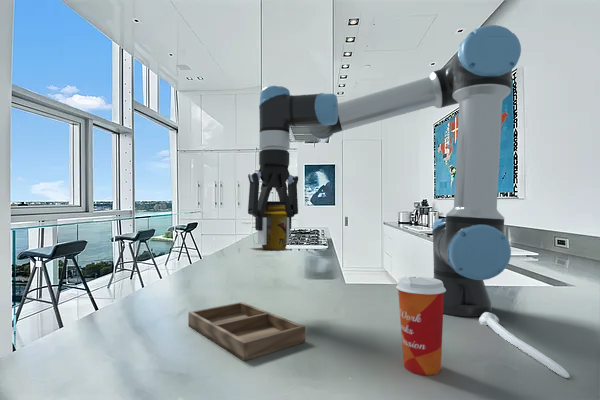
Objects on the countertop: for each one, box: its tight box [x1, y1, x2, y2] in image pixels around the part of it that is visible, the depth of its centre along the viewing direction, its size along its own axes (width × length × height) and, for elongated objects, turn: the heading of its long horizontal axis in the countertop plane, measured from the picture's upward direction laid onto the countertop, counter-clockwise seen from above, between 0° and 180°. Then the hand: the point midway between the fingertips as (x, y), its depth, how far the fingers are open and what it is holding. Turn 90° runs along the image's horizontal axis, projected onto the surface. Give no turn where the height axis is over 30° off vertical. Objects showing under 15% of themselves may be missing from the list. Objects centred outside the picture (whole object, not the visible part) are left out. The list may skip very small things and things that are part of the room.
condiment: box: [249, 200, 293, 253], centre depth 87 cm, size 7×8×12 cm
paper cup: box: [395, 276, 446, 376], centre depth 57 cm, size 8×8×14 cm
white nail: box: [478, 312, 571, 379], centre depth 66 cm, size 28×4×3 cm, turn 177°
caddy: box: [187, 301, 306, 362], centre depth 73 cm, size 24×14×3 cm, turn 39°
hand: (273, 243), depth 87 cm, fingers closed on condiment, 6 cm apart
